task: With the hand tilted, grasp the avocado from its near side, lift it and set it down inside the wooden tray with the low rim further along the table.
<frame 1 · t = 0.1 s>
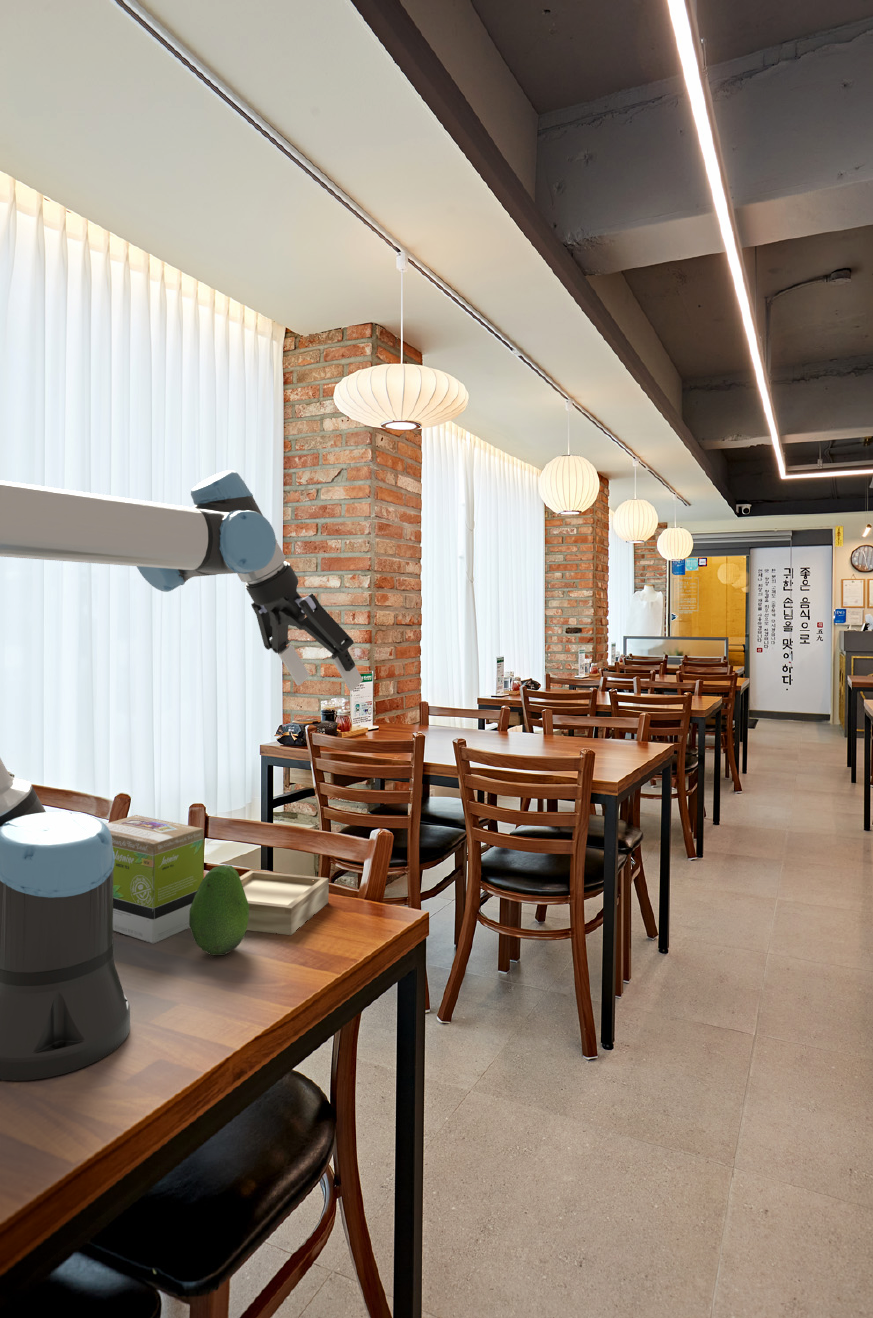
hand: (329, 683, 124), 36 cm above the table, tool tilted 35°, fingers open, 13 cm apart
avocado: (218, 953, 104), on the table
tea box: (144, 924, 114), on the table
wooden tray: (269, 912, 119), on the table
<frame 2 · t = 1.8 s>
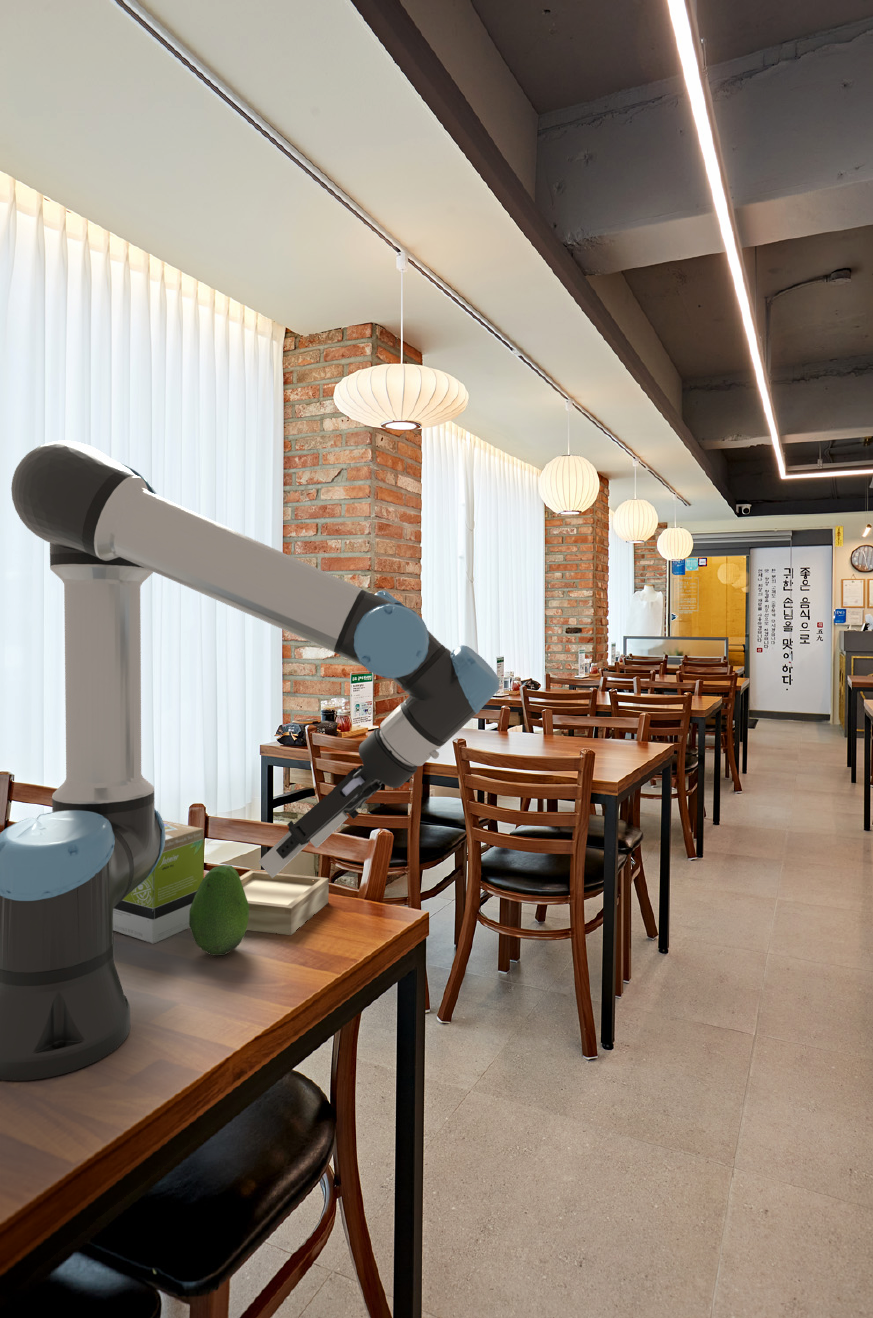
hand: (289, 853, 101), 14 cm above the table, tool tilted 45°, fingers open, 13 cm apart
nothing on the table moved.
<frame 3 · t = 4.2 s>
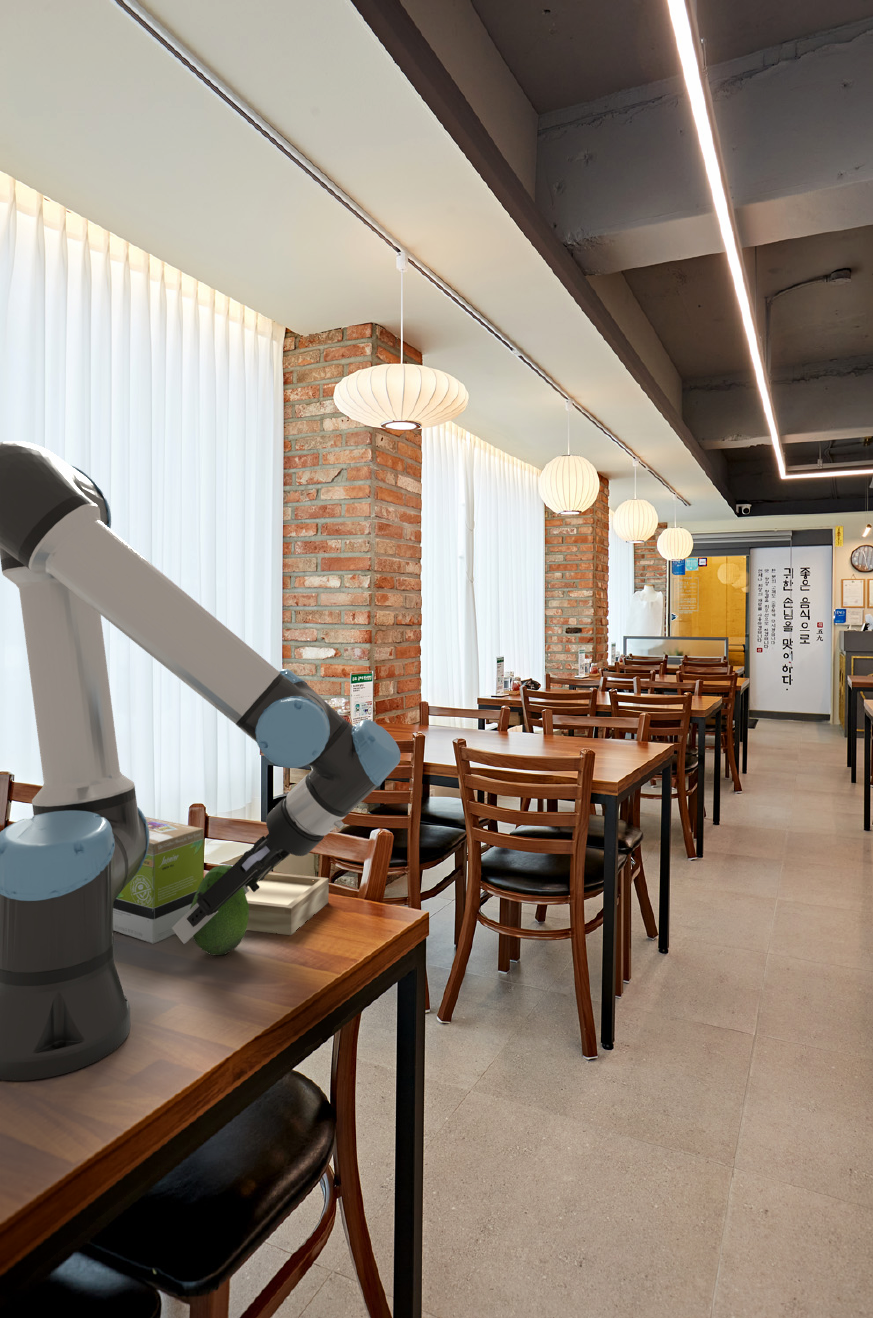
hand: (197, 923, 105), 4 cm above the table, tool tilted 45°, fingers closed on avocado, 8 cm apart
avocado: (218, 953, 104), on the table, touching gripper
everything else where it was.
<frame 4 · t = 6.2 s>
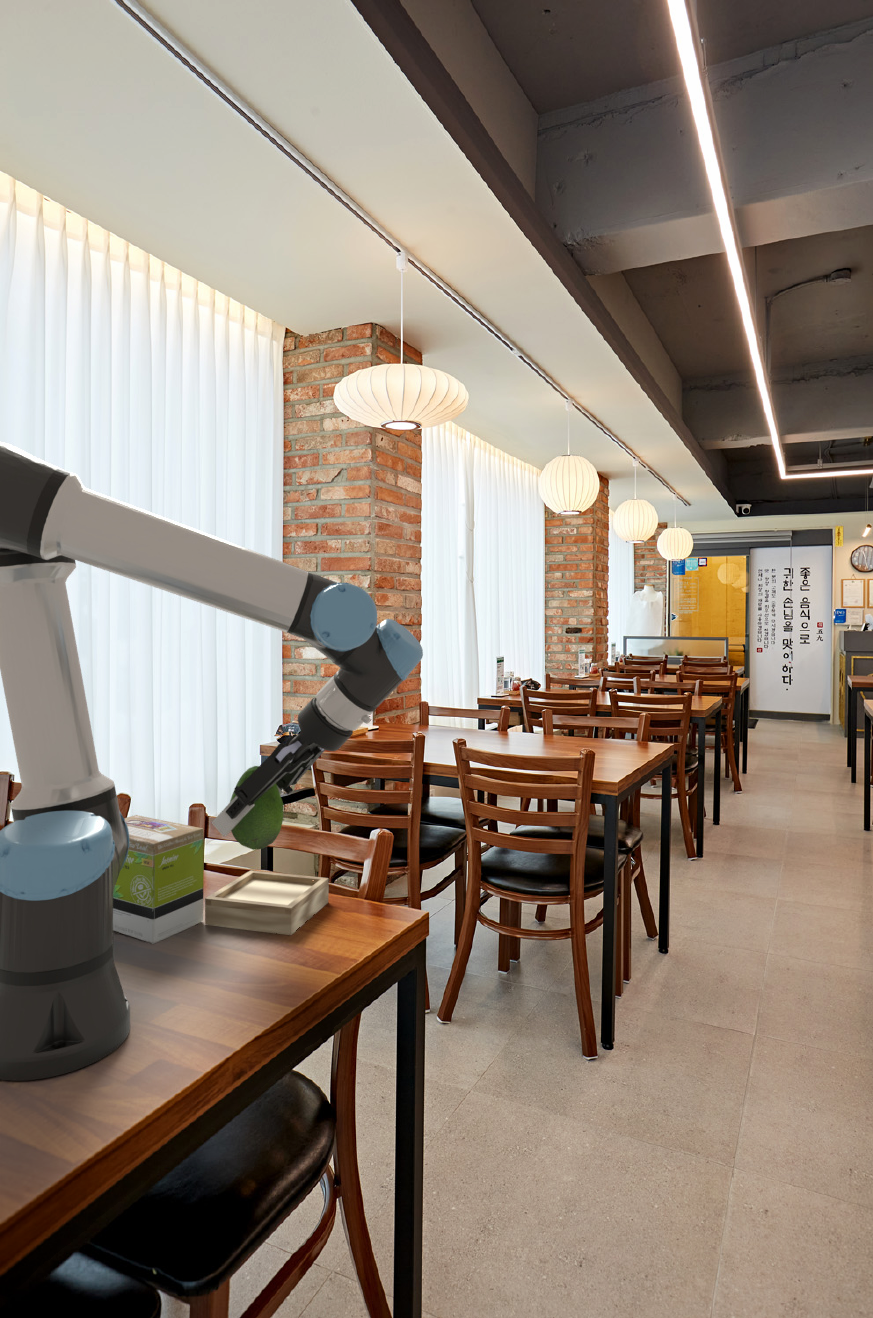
hand: (235, 821, 111), 16 cm above the table, tool tilted 45°, fingers closed on avocado, 8 cm apart
avocado: (256, 849, 110), point 12 cm above the table, touching gripper
everything else where it was.
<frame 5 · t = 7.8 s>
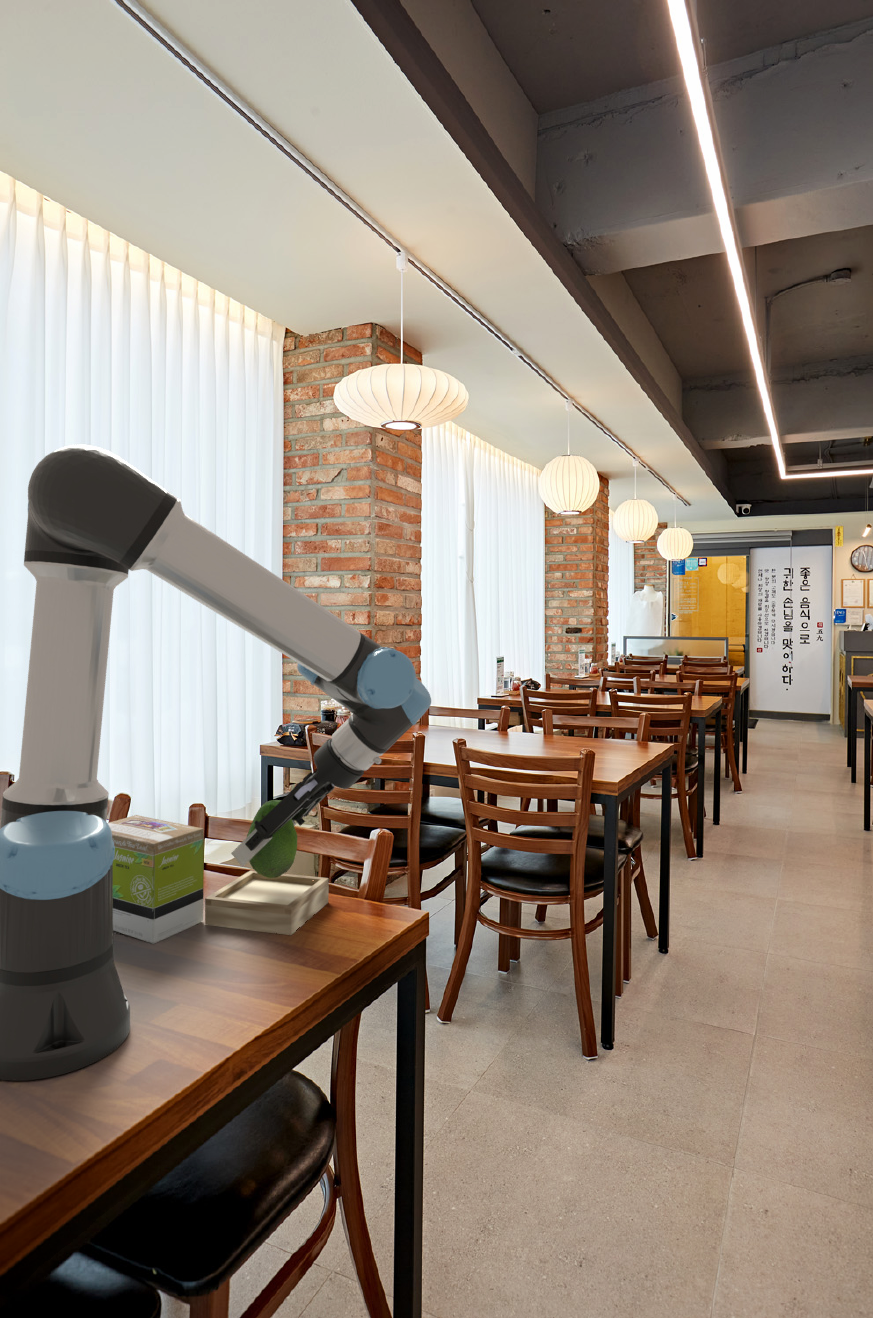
hand: (251, 851, 119), 9 cm above the table, tool tilted 45°, fingers closed on avocado, 8 cm apart
avocado: (271, 877, 119), point 6 cm above the table, touching gripper
everything else where it was.
when the fingers open (8 cm above the table, at t = 8.5 s): avocado drops 1 cm, resting on wooden tray.
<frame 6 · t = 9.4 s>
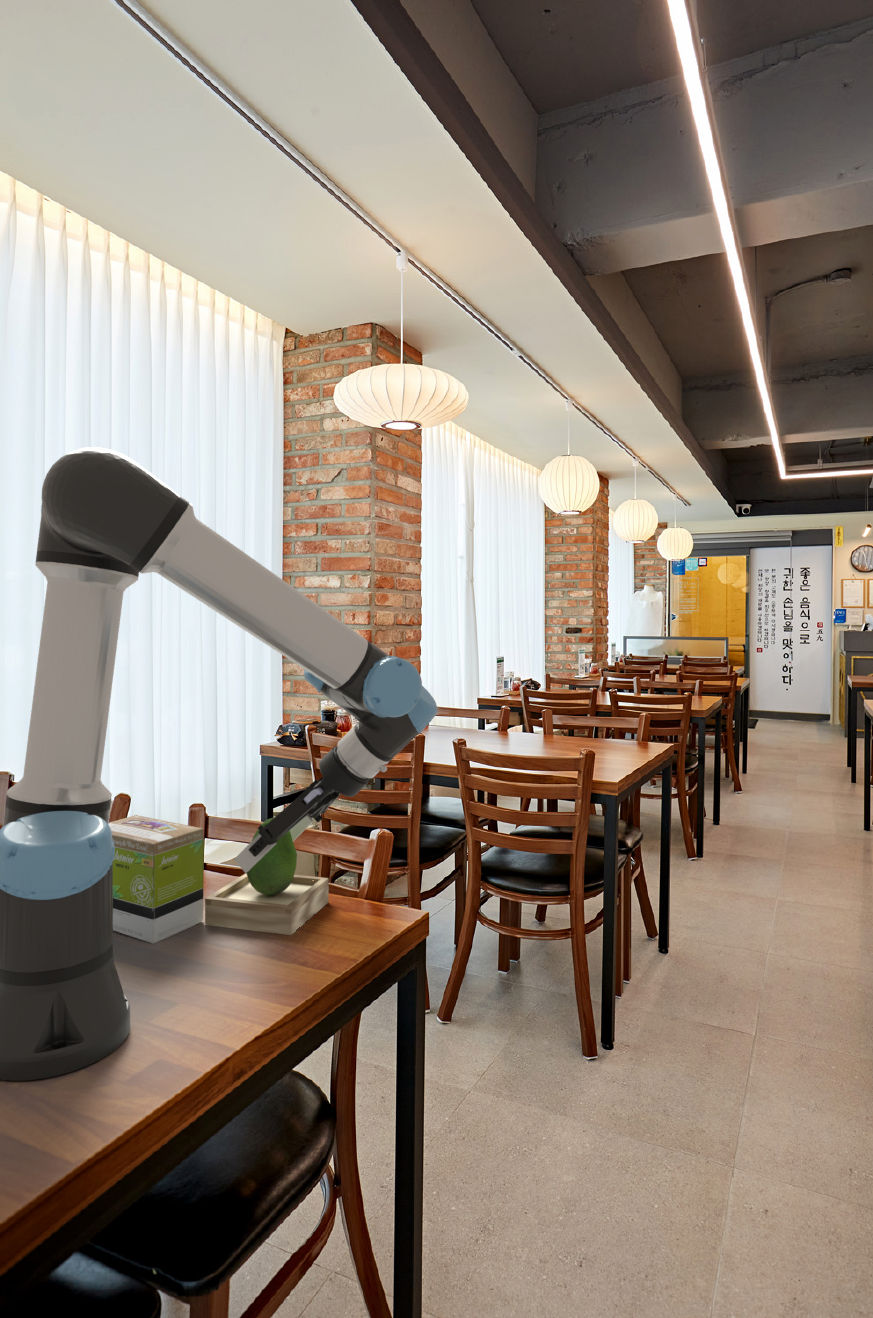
hand: (262, 852, 119), 9 cm above the table, tool tilted 45°, fingers open, 13 cm apart
avocado: (270, 895, 119), point 3 cm above the table, touching wooden tray
everything else where it was.
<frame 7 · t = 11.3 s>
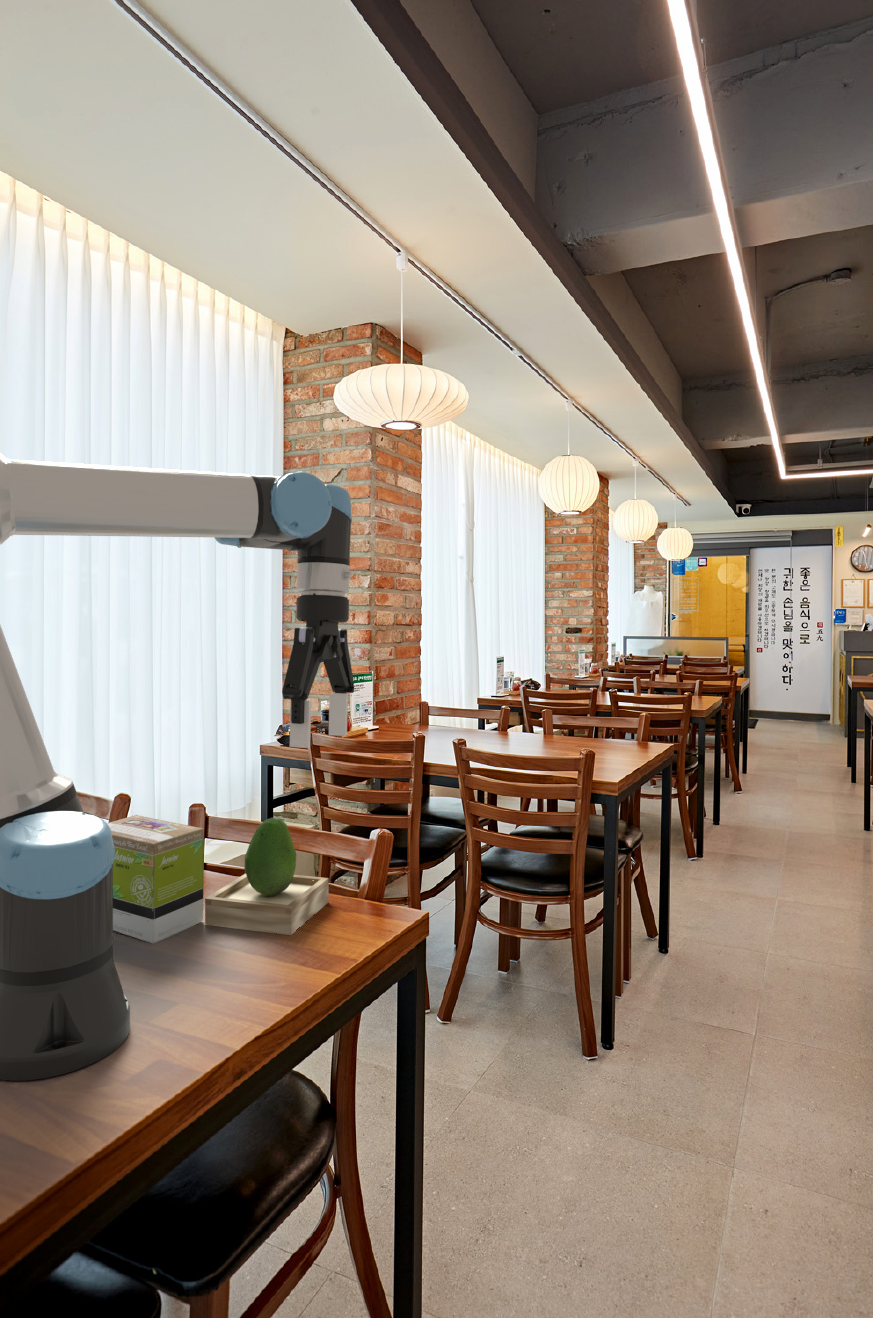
hand: (319, 741, 110), 28 cm above the table, tool pointing down, fingers open, 13 cm apart
nothing on the table moved.
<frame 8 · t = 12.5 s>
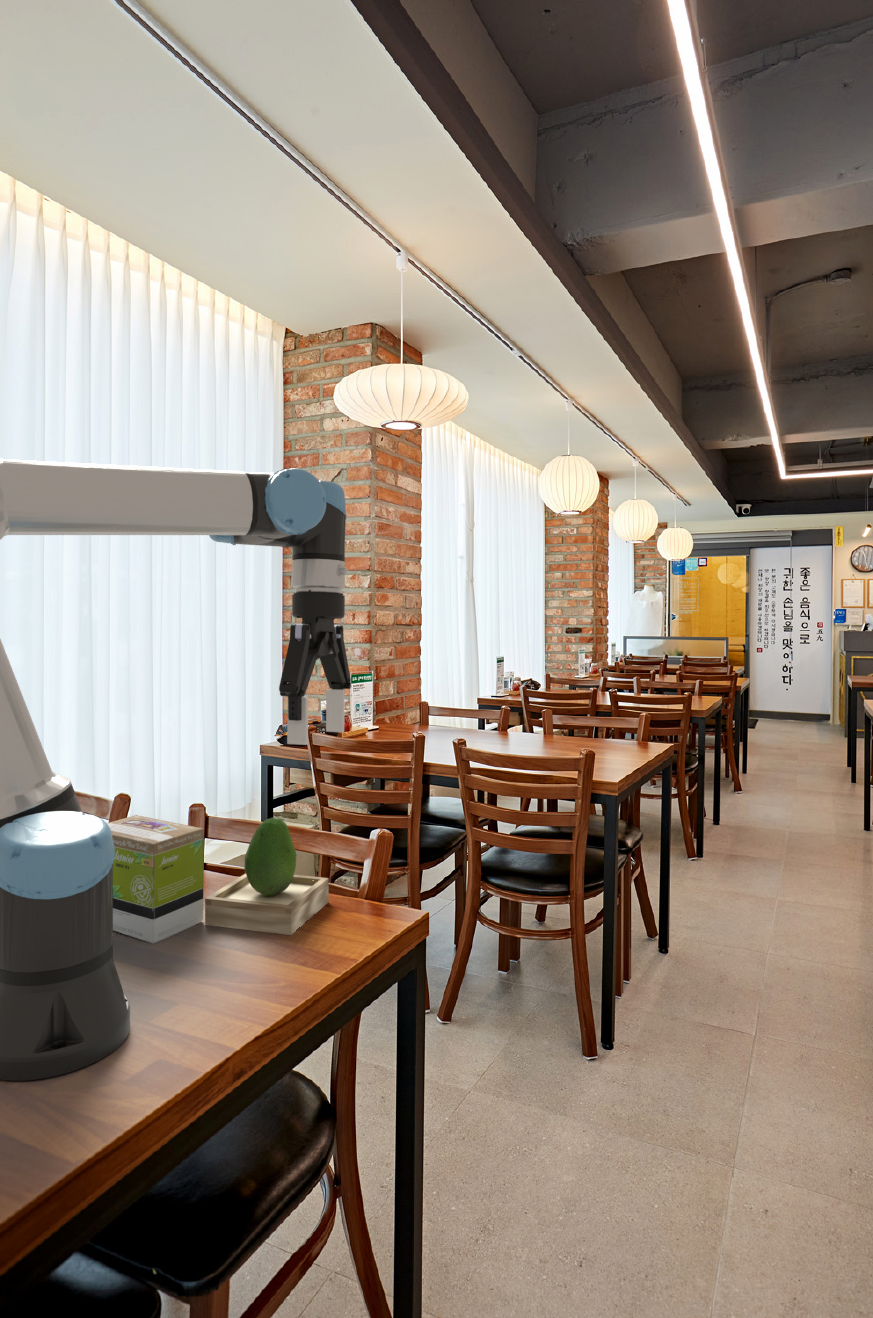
hand: (317, 737, 110), 29 cm above the table, tool pointing down, fingers open, 13 cm apart
nothing on the table moved.
at the end: avocado inside the target area on the wooden tray (0.1 cm from its centre), point 2.8 cm above the wooden tray's base; the gripper is holding nothing; tea box moved 0.3 cm from its start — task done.
